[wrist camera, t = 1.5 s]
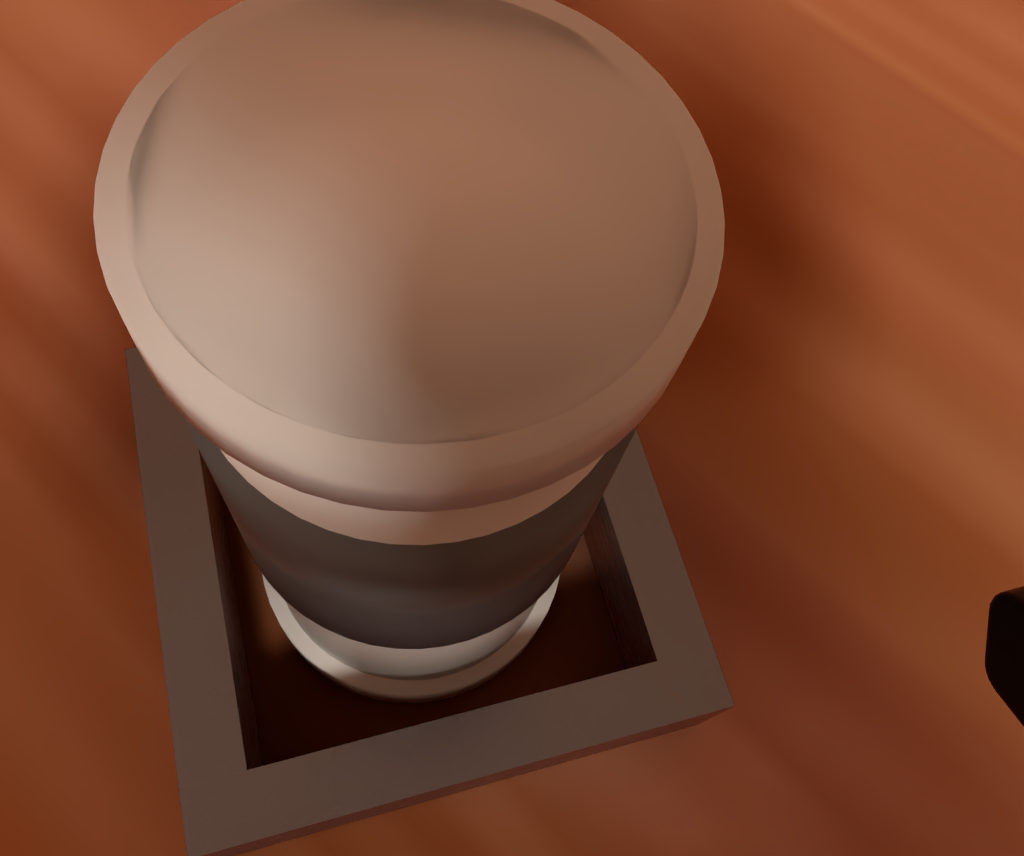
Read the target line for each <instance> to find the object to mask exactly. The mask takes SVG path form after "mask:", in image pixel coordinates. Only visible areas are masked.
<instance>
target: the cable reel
mask: <svg viewBox="0 0 1024 856" xmlns="http://www.w3.org/2000/svg"><path fill="white" fill-rule="evenodd" d="M93 220H94V229H95V238H96V247H97V254H98V257H99V261H100V264H101V268H102V271H103V275H104V278H105V282H106V285H107V288H108V290H109V292H110V294H111V296H112V298H113V300H114V303H115V305H116V307H117V309H118V311H119V313H120V315H121V317H122V319H123V321H124V323H125V325H126V327H127V329H128V331H129V333H130V335H131V337H132V339H133V341H134V343H135V345H136V347H137V349H138V350H139V352H140V354H141V356H142V358H143V360H144V362H145V364H146V366H147V368H148V370H149V372H150V373H151V375H152V376H153V377H154V379H155V380H156V382H157V383H158V385H159V386H160V388H161V389H162V391H163V392H164V394H165V395H166V396H167V398H168V399H169V401H170V402H171V403H172V404H173V405H174V406H175V407H176V408H177V410H178V411H179V412H180V413H181V414H182V415H183V417H184V419H185V422H186V424H187V426H188V428H189V430H190V432H191V434H192V436H193V438H194V440H195V442H196V444H197V446H198V448H199V450H200V452H201V454H202V456H203V458H204V461H205V463H206V465H207V467H208V469H209V471H210V473H211V475H212V477H213V479H214V481H215V483H216V485H217V487H218V489H219V491H220V493H221V495H222V497H223V499H224V501H225V503H226V505H227V507H228V509H229V511H230V513H231V515H232V517H233V519H234V521H235V523H236V525H237V527H238V529H239V531H240V533H241V535H242V537H243V539H244V541H245V543H246V545H247V547H248V549H249V551H250V554H251V556H252V558H253V560H254V562H255V563H256V565H257V566H258V568H259V569H260V571H261V572H262V575H263V581H264V586H265V589H266V592H267V596H268V599H269V602H270V605H271V607H272V609H273V611H274V613H275V615H276V617H277V619H278V621H279V623H280V625H281V627H282V629H283V631H284V633H285V634H286V636H287V637H288V639H289V640H290V642H291V643H292V645H293V646H294V648H295V649H296V650H297V651H298V652H299V654H300V655H301V656H302V657H303V658H304V659H305V660H306V661H307V662H308V663H309V664H310V665H311V666H312V667H313V668H315V669H316V670H317V671H318V672H319V673H320V674H322V675H323V676H324V677H326V678H328V679H329V680H331V681H332V682H334V683H336V684H337V685H339V686H341V687H343V688H345V689H347V690H350V691H352V692H354V693H356V694H359V695H362V696H366V697H369V698H372V699H376V700H381V701H388V702H395V703H423V702H431V701H438V700H442V699H446V698H450V697H454V696H457V695H460V694H462V693H465V692H467V691H470V690H472V689H475V688H477V687H478V686H480V685H482V684H484V683H485V682H487V681H489V680H491V679H492V678H494V677H495V676H496V675H498V674H499V673H500V672H502V671H503V670H504V669H505V668H507V667H508V666H509V665H510V664H511V663H512V662H513V661H514V660H515V659H516V658H517V657H518V656H519V655H520V654H521V653H522V652H523V650H524V649H525V648H526V647H527V645H528V644H529V643H530V641H531V640H532V639H533V637H534V635H535V634H536V632H537V630H538V628H539V627H540V625H541V623H542V621H543V620H544V618H545V616H546V614H547V612H548V610H549V608H550V605H551V603H552V600H553V598H554V595H555V593H556V589H557V585H558V581H559V577H560V574H561V572H562V571H563V569H564V567H565V566H566V564H567V562H568V560H569V559H570V557H571V555H572V553H573V552H574V550H575V548H576V546H577V544H578V542H579V540H580V538H581V536H582V534H583V532H584V530H585V528H586V526H587V525H588V523H589V521H590V519H591V517H592V515H593V513H594V511H595V509H596V507H597V505H598V503H599V501H600V499H601V497H602V495H603V494H604V492H605V490H606V488H607V486H608V484H609V482H610V480H611V478H612V476H613V474H614V472H615V470H616V468H617V466H618V464H619V463H620V461H621V459H622V457H623V455H624V453H625V451H626V449H627V447H628V445H629V443H630V441H631V439H632V437H633V435H634V433H635V430H636V428H637V425H638V424H639V423H640V422H641V421H642V420H643V419H644V418H645V416H646V415H647V414H648V413H649V411H650V410H651V409H652V408H653V406H654V405H655V404H656V403H657V401H658V400H659V399H660V398H661V396H662V395H663V394H664V392H665V390H666V388H667V387H668V385H669V383H670V381H671V380H672V378H673V376H674V375H675V373H676V371H677V369H678V368H679V366H680V364H681V362H682V360H683V358H684V357H685V355H686V353H687V351H688V349H689V347H690V345H691V343H692V342H693V340H694V338H695V336H696V334H697V332H698V330H699V329H700V327H701V325H702V323H703V321H704V319H705V317H706V314H707V312H708V309H709V306H710V304H711V301H712V298H713V296H714V293H715V291H716V288H717V284H718V279H719V274H720V270H721V265H722V260H723V255H724V232H725V218H724V210H723V201H722V193H721V188H720V184H719V180H718V177H717V173H716V170H715V166H714V162H713V159H712V157H711V154H710V152H709V150H708V147H707V145H706V143H705V141H704V138H703V136H702V134H701V132H700V129H699V128H698V126H697V124H696V123H695V121H694V120H693V118H692V116H691V115H690V113H689V111H688V110H687V108H686V107H685V105H684V103H683V102H682V100H681V99H680V98H679V97H678V95H677V94H676V93H675V92H674V90H673V89H672V88H671V87H670V86H669V84H668V83H667V82H666V81H665V79H664V78H663V77H662V76H661V75H660V74H659V73H658V72H657V71H656V70H655V69H654V68H653V67H652V66H651V65H650V64H649V63H648V62H647V61H646V60H645V59H644V58H643V57H642V56H641V55H640V54H639V53H638V52H636V51H635V50H634V49H633V48H631V47H630V46H629V45H627V44H626V43H625V42H624V41H622V40H621V39H620V38H618V37H617V36H616V35H615V34H613V33H612V32H610V31H609V30H607V29H606V28H604V27H602V26H601V25H599V24H598V23H596V22H594V21H593V20H591V19H590V18H588V17H586V16H585V15H583V14H581V13H579V12H577V11H575V10H573V9H571V8H569V7H567V6H565V5H563V4H561V3H559V2H557V1H555V0H244V1H242V2H239V3H238V4H236V5H234V6H232V7H230V8H228V9H227V10H225V11H223V12H221V13H219V14H218V15H216V16H214V17H212V18H210V19H209V20H207V21H206V22H204V23H203V24H202V25H200V26H199V27H197V28H196V29H195V30H193V31H192V32H190V33H189V34H188V35H186V36H185V37H184V38H182V39H181V40H180V41H178V42H177V43H176V44H175V45H174V46H173V47H172V48H171V49H170V50H169V51H168V52H167V53H166V54H164V55H163V56H162V57H161V58H160V59H159V60H158V61H157V62H156V63H155V64H154V65H153V66H152V68H151V69H150V70H149V71H148V72H147V74H146V75H145V76H144V77H143V78H142V80H141V81H140V82H139V83H138V84H137V86H136V87H135V88H134V89H133V91H132V93H131V94H130V96H129V98H128V99H127V101H126V103H125V104H124V106H123V107H122V109H121V111H120V112H119V114H118V116H117V117H116V119H115V122H114V124H113V127H112V129H111V131H110V134H109V136H108V139H107V141H106V143H105V146H104V148H103V152H102V156H101V160H100V165H99V169H98V173H97V177H96V182H95V196H94V212H93Z"/></svg>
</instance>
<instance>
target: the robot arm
mask: <svg viewBox="0 0 1024 856" xmlns="http://www.w3.org/2000/svg"><path fill="white" fill-rule="evenodd" d="M985 667H986V672H987V675H988V678H989V680H990V682H991V684H992V686H993V688H994V689H995V691H996V692H997V693H998V694H999V696H1000V697H1001V698H1002V700H1003V701H1004V702H1005V703H1006V705H1007V706H1008V707H1009V708H1010V710H1011V711H1012V712H1013V714H1014V715H1015V716H1016V717H1017V719H1018V720H1019V721H1020V722H1021V724H1022V725H1023V726H1024V586H1022V587H1019V588H1015V589H1011V590H1008V591H1004V592H1001V593H999V594H997V595H996V596H995V597H994V598H993V600H992V602H991V603H990V608H989V617H988V629H987V641H986V653H985Z"/></svg>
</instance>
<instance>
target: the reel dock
mask: <svg viewBox="0 0 1024 856" xmlns="http://www.w3.org/2000/svg"><path fill="white" fill-rule="evenodd" d="M125 353H126V361H127V370H128V378H129V386H130V394H131V402H132V410H133V418H134V427H135V435H136V443H137V451H138V459H139V467H140V476H141V484H142V492H143V500H144V508H145V516H146V525H147V533H148V541H149V549H150V557H151V565H152V574H153V582H154V590H155V598H156V606H157V614H158V623H159V631H160V639H161V647H162V655H163V663H164V671H165V680H166V688H167V696H168V704H169V712H170V720H171V729H172V737H173V745H174V753H175V761H176V769H177V778H178V786H179V794H180V802H181V810H182V818H183V827H184V835H185V843H186V851H187V856H234V855H237V854H241V853H244V852H248V851H251V850H255V849H259V848H262V847H266V846H269V845H273V844H276V843H280V842H283V841H287V840H290V839H294V838H297V837H301V836H305V835H308V834H312V833H315V832H319V831H322V830H326V829H329V828H333V827H336V826H340V825H343V824H347V823H351V822H354V821H358V820H361V819H365V818H368V817H372V816H375V815H379V814H382V813H386V812H389V811H393V810H396V809H400V808H404V807H407V806H411V805H414V804H418V803H421V802H425V801H428V800H432V799H435V798H439V797H442V796H446V795H450V794H453V793H457V792H460V791H464V790H467V789H471V788H474V787H478V786H481V785H485V784H488V783H492V782H495V781H499V780H503V779H506V778H510V777H513V776H517V775H520V774H524V773H527V772H531V771H534V770H538V769H541V768H545V767H549V766H552V765H556V764H559V763H563V762H566V761H570V760H573V759H577V758H580V757H584V756H587V755H591V754H595V753H598V752H602V751H605V750H609V749H612V748H616V747H619V746H623V745H626V744H630V743H633V742H637V741H640V740H644V739H648V738H651V737H655V736H658V735H662V734H665V733H669V732H672V731H676V730H679V729H683V728H686V727H690V726H694V725H697V724H700V723H702V722H704V721H706V720H708V719H710V718H712V717H714V716H716V715H717V714H719V713H721V712H723V711H725V710H727V709H729V708H731V707H733V706H734V704H733V701H732V698H731V695H730V692H729V689H728V687H727V684H726V681H725V678H724V675H723V673H722V670H721V667H720V664H719V661H718V658H717V656H716V653H715V650H714V647H713V644H712V641H711V639H710V636H709V633H708V630H707V627H706V625H705V622H704V619H703V616H702V613H701V610H700V608H699V605H698V602H697V599H696V596H695V593H694V591H693V588H692V585H691V582H690V579H689V577H688V574H687V571H686V568H685V565H684V562H683V560H682V557H681V554H680V551H679V548H678V545H677V543H676V540H675V537H674V534H673V531H672V529H671V526H670V523H669V520H668V517H667V514H666V512H665V509H664V506H663V503H662V500H661V497H660V495H659V492H658V489H657V486H656V483H655V481H654V478H653V475H652V472H651V469H650V466H649V464H648V461H647V458H646V455H645V452H644V449H643V447H642V444H641V441H640V438H639V435H638V433H637V430H635V433H634V435H633V437H632V439H631V441H630V443H629V445H628V447H627V449H626V451H625V453H624V455H623V457H622V459H621V461H620V463H619V464H618V466H617V468H616V470H615V472H614V474H613V476H612V478H611V480H610V482H609V484H608V486H607V488H606V490H605V492H604V494H603V495H602V497H601V499H600V501H599V503H598V505H597V507H596V509H595V511H594V513H593V515H592V517H591V519H590V521H589V523H588V525H587V526H586V528H585V530H584V532H583V533H584V537H585V540H586V543H587V546H588V549H589V553H590V556H591V559H592V562H593V565H594V568H595V572H596V575H597V578H598V581H599V584H600V587H601V591H602V594H603V597H604V600H605V603H606V607H607V610H608V613H609V616H610V619H611V622H612V626H613V629H614V632H615V635H616V638H617V642H618V645H619V648H620V651H621V654H622V657H623V661H624V664H625V667H626V669H625V670H622V671H618V672H614V673H610V674H607V675H603V676H599V677H595V678H592V679H588V680H584V681H580V682H577V683H573V684H569V685H565V686H562V687H558V688H554V689H550V690H546V691H543V692H539V693H535V694H531V695H528V696H524V697H520V698H516V699H513V700H509V701H505V702H501V703H498V704H494V705H490V706H486V707H483V708H479V709H475V710H471V711H467V712H464V713H460V714H456V715H452V716H449V717H445V718H441V719H437V720H434V721H430V722H426V723H422V724H419V725H415V726H411V727H407V728H404V729H400V730H396V731H392V732H389V733H385V734H381V735H377V736H373V737H370V738H366V739H362V740H358V741H355V742H351V743H347V744H343V745H340V746H336V747H332V748H328V749H325V750H321V751H317V752H313V753H310V754H306V755H302V756H298V757H295V758H291V759H287V760H283V761H279V762H276V763H272V764H268V765H264V766H263V761H262V755H261V749H260V742H259V736H258V729H257V723H256V717H255V710H254V704H253V698H252V691H251V685H250V679H249V672H248V666H247V660H246V653H245V647H244V640H243V634H242V628H241V621H240V615H239V609H238V602H237V596H236V590H235V583H234V577H233V571H232V564H231V558H230V552H229V545H228V539H227V532H226V526H225V520H224V513H223V507H222V501H221V494H220V491H219V489H218V487H217V485H216V483H215V481H214V479H213V477H212V475H211V473H210V471H209V469H208V467H207V465H206V463H205V461H204V458H203V456H202V454H201V452H200V450H199V448H198V446H197V444H196V442H195V440H194V438H193V436H192V434H191V432H190V430H189V428H188V426H187V424H186V422H185V419H184V417H183V415H182V414H181V413H180V412H179V411H178V410H177V408H176V407H175V406H174V405H173V404H172V403H171V402H170V401H169V399H168V398H167V396H166V395H165V394H164V392H163V391H162V389H161V388H160V386H159V385H158V383H157V382H156V380H155V379H154V377H153V376H152V375H151V373H150V372H149V370H148V368H147V366H146V364H145V362H144V360H143V358H142V356H141V354H140V352H139V350H138V349H137V347H136V348H130V349H125Z"/></svg>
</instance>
